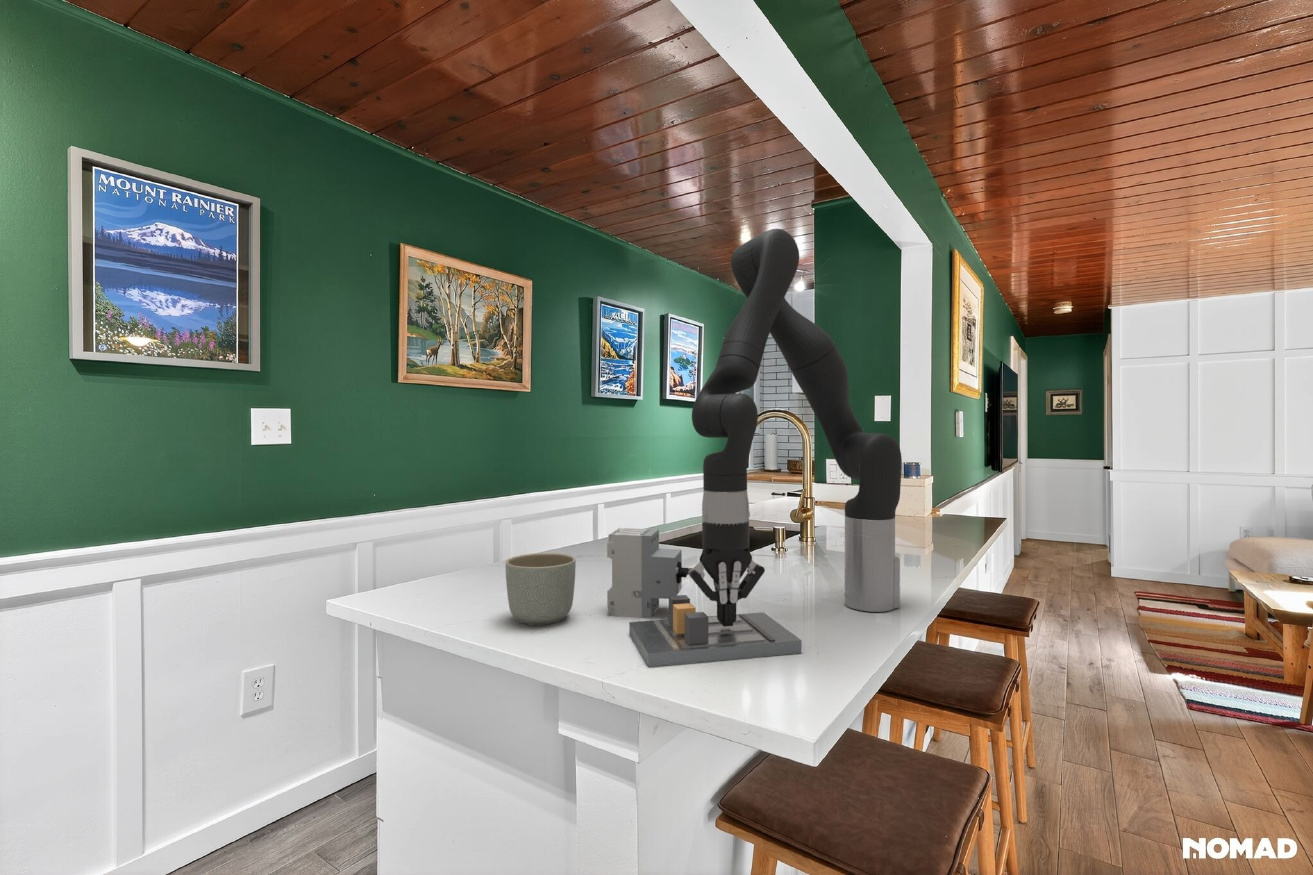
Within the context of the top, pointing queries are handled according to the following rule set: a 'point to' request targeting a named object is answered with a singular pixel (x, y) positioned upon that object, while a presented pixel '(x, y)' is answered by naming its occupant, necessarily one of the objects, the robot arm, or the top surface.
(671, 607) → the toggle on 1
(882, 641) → the top surface
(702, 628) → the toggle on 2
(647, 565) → the circuit breaker
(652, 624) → the grey base plate
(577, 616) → the top surface
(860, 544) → the robot arm
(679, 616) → the toggle
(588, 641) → the top surface
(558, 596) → the planter
